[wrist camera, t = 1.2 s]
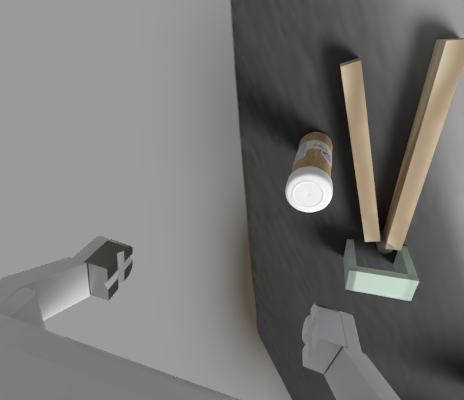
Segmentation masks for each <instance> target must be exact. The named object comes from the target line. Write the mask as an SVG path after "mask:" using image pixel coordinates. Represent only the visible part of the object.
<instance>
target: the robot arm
mask: <svg viewBox="0 0 464 400" xmlns="http://www.w3.org/2000/svg"><path fill="white" fill-rule="evenodd" d="M131 254H132V247H131V246H129V245H126V244H123V243H120V242H117V241H115V240H112V239H108V238H105V237H102V236H99V237H96V238H95V239H94V240H93V241H91V242H90V243H89V244H88V245H87V246H86V247H84V248H83V249H82V250H81V251H80V252H79V253H77V254H76V255H75V256H74V257H73V258H69V257H68V258H65V259H62V260H58V261H56V262H52V263H49V264H46V265H42V266H39V267H36V268H33V269H30V270H26V271H23V272H20V273H17V274H14V275H10V276H7V277H4V278H2V279H1V280H0V400H239V399H236V398H234V397H231V396H228V395H225V394H223V393H220V392H217V391H214V390H212V389H208V388H206V387H203V386H200V385H198V384H195V383H192V382H189V381H186V380H184V379H181V378H178V377H175V376H172V375H170V374H167V373H164V372H161V371H159V370H156V369H153V368H150V367H148V366H145V365H142V364H139V363H136V362H134V361H131V360H128V359H125V358H123V357H120V356H117V355H114V354H111V353H108V352H106V351H103V350H100V349H98V348H95V347H92V346H89V345H87V344H84V343H81V342H78V341H75V340H72V339H70V338H67V337H64V336H61V335H59V334H56V333H53V332H50V331H48V330H46V329H45V325H44V320H45V319H47V318H49V317H51V316H53V315H55V314H57V313H59V312H60V311H62V310H64V309H66V308H68V307H70V306H72V305H73V304H75V303H77V302H79V301H81V300H83V299H85V298H87V297H89V296H90V295H93V296H96V297H100V298H103V299H106V300H109V299H110V298H111V297H112V296H113V294H114V293H115V292H116V291H117V289H118V283H121V282H123V281H124V280H125V279H126V278H127V277H128V275H129V273H130V271H131V269H132V259H131V258H130V255H131ZM302 340H303V341H304V343H305V346H304V348H303V366H304V367H306V368H309V369H312V370H315V371H317V372H320V373H323V374H324V376H325V378H326V380H327V382H328V384H329V386H330V388H331V390H332V392H333V394H334V396H335V398H336V400H400V398H399V397H398V396H397V394H396V393H395V392H394V390H393V389H392V388H391V387H390V385H389V384H388V383H387V381H386V380H385V379H384V377H383V376H382V375H381V374H380V372H379V371H378V370H377V368H376V367H375V366H374V364H373V363H372V362H371V361H370V359H369V358H368V357H367V355H366V354H363V353H362V352H361V347H360V343H359V339H358V334H357V330H356V326H355V321H354V317H353V316H352V315H351V314H348V313H344V312H341V311H338V310H334V309H331V308H328V307H325V306H321V305H318V304H314V305H313V306H312V308H311V315H309V316H307V318H306V320H305V322H304V326H303V332H302Z"/></svg>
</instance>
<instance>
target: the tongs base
mask: <svg viewBox="0 0 464 400" xmlns="http://www.w3.org/2000/svg"><path fill="white" fill-rule="evenodd" d="M463 65H464V38H452V39H439V40H436V43H435V46H434V50H433V54H432V57H431V61H430V64H429V68H428V72H427V75H426V79H425V83H424V86H423V90H422V93H421V97H420V101H419V104H418V108H417V111H416V115H415V119H414V122H413V126H412V129H411V133H410V137H409V140H408V144H407V147H406V151H405V155H404V158H403V162H402V165H401V169H400V173H399V176H398V180H397V183H396V187H395V191H394V194H393V198H392V201H391V205H390V209H389V212H388V216H387V220H386V223H385V227H384V230H382V231H379V232H380V241H377V242H376V245H377V249H378V251H379V252H380V253H383V254H388V253H390V252H392V250H400V251H401V249H402V246H403V243H404V240H405V237H406V234H407V231H408V228H409V225H410V222H411V219H412V216H413V213H414V210H415V207H416V204H417V201H418V198H419V195H420V192H421V190H422V187H423V184H424V181H425V178H426V175H427V172H428V169H429V166H430V163H431V160H432V157H433V154H434V151H435V148H436V145H437V142H438V139H439V136H440V133H441V130H442V127H443V124H444V121H445V119H446V116H447V113H448V110H449V107H450V104H451V101H452V98H453V95H454V92H455V89H456V86H457V83H458V80H459V77H460V74H461V71H462V68H463Z"/></svg>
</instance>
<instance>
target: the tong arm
mask: <svg viewBox="0 0 464 400" xmlns="http://www.w3.org/2000/svg"><path fill="white" fill-rule="evenodd" d="M340 69H341V76H342V83H343V90H344V97H345V104H346V111H347V118H348V126H349V133H350V140H351V147H352V154H353V161H354V168H355V175H356V183H357V190H358V197H359V204H360V211H361V218H362V225H363V232H364V239H365V242H377V241H380V232H379V223H378V214H377V204H376V195H375V186H374V177H373V167H372V158H371V149H370V139H369V130H368V121H367V112H366V102H365V93H364V84H363V74H362V65H361V60H360V59H359V58H356V59H353V60H350V61H347V62H344V63H341V64H340Z"/></svg>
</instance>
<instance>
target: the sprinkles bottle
mask: <svg viewBox="0 0 464 400" xmlns="http://www.w3.org/2000/svg"><path fill="white" fill-rule="evenodd" d="M331 152H332V142H331V139H330V138H329V137H328V136H327V135H326V134H324V133H321V132H312V133H309V134H307V135H305V136H304V137H303V138H302V139H301V141H300V143H299V149H298V151H297V155H296V158H295V162H294V165H293V169H292V174H291V175H290V177H289V178H288V181H287V185H286V190H285V193H286V198H287V200H288V202H289V203H290V204H291V205H292V206H293V207H294V208H296V209H297V210H300V211H303V212H316V211H319V210H321V209H323V208H324V207H326V206H327V205H328V204H329V202H330V200H331V198H332V191H333V185H332V180H331V166H332V153H331Z"/></svg>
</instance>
